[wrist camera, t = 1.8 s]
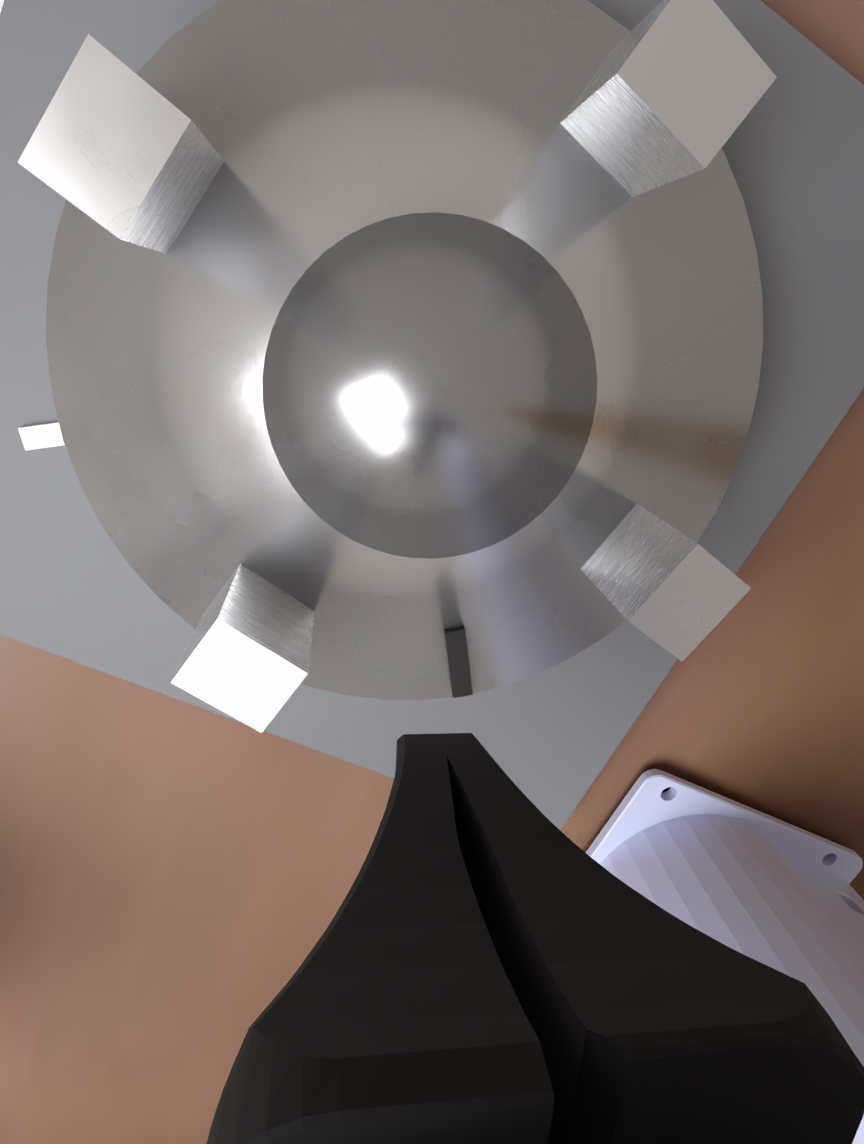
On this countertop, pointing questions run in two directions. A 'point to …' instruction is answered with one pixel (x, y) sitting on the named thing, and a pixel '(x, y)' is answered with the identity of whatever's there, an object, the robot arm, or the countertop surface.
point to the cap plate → (571, 688)
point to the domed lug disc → (407, 333)
